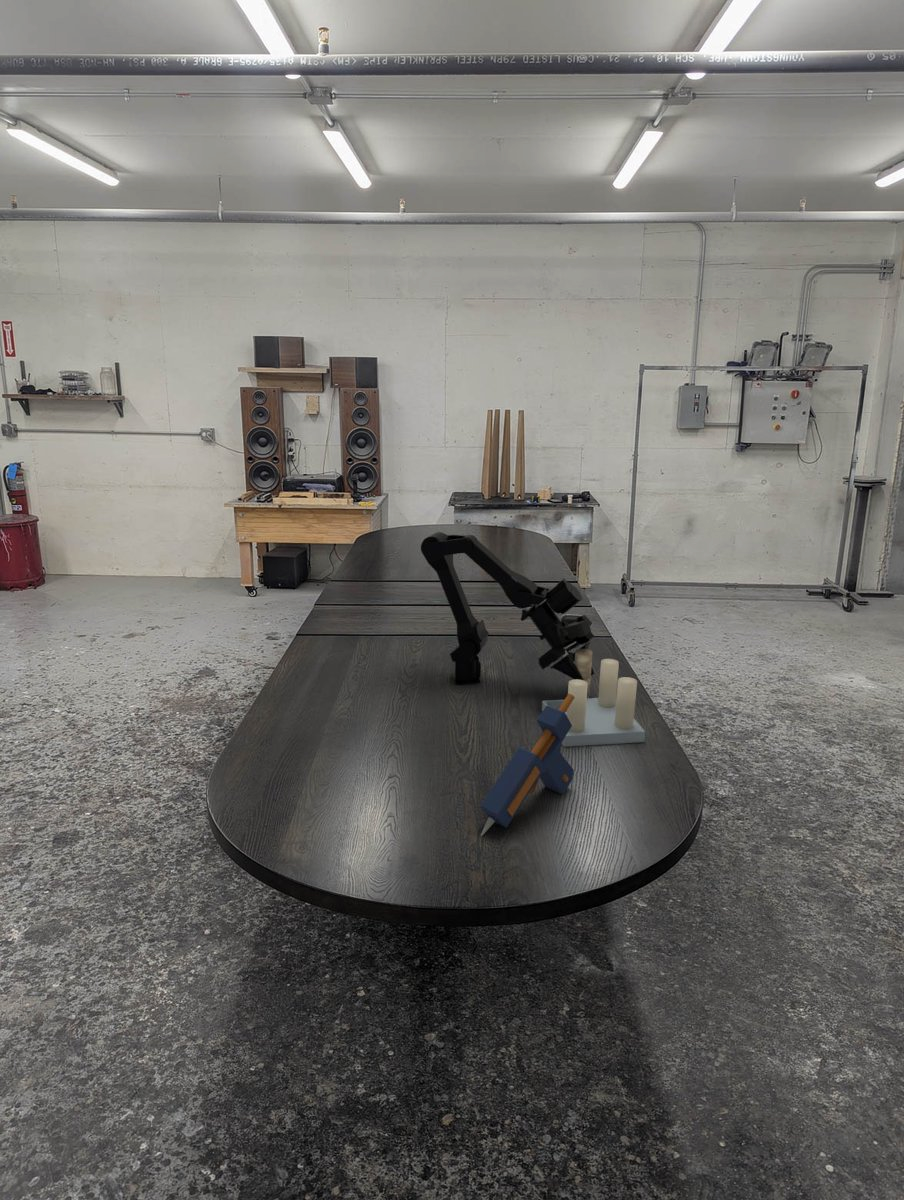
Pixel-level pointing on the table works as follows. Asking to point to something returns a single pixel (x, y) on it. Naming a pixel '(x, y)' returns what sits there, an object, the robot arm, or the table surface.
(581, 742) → the stool seat
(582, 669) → the loose leg
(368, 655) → the table surface
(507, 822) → the glue gun
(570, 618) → the battery charger
